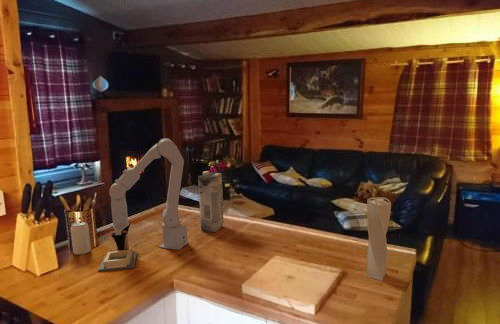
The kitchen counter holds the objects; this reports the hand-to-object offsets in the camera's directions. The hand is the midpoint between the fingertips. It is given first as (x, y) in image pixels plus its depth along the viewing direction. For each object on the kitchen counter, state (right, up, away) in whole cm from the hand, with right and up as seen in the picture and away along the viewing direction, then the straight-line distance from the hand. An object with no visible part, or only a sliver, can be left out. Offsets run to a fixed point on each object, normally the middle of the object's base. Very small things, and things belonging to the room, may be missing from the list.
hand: (122, 245), depth 147 cm
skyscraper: (+93, -5, -24) cm, 96 cm away
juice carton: (+34, +2, +23) cm, 41 cm away
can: (-17, -3, +1) cm, 17 cm away
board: (+2, -4, -10) cm, 11 cm away
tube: (0, -2, 0) cm, 2 cm away
